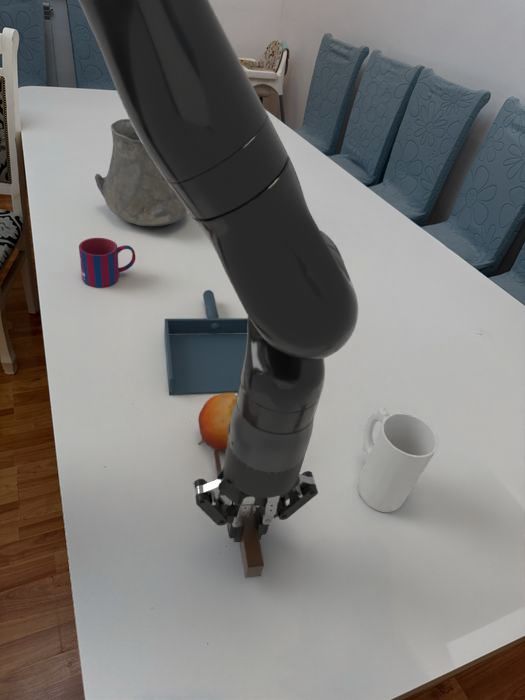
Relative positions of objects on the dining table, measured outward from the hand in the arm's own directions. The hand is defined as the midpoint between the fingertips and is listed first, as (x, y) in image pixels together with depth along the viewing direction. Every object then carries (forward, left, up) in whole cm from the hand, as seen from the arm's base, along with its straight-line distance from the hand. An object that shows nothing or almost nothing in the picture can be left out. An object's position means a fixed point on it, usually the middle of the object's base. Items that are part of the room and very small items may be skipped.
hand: (246, 533), depth 58 cm
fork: (0, +3, 0) cm, 3 cm away
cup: (-17, +56, -2) cm, 59 cm away
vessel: (-9, +82, -2) cm, 83 cm away
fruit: (0, +15, -2) cm, 15 cm away
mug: (+19, +6, -2) cm, 20 cm away
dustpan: (+1, +36, -2) cm, 36 cm away
